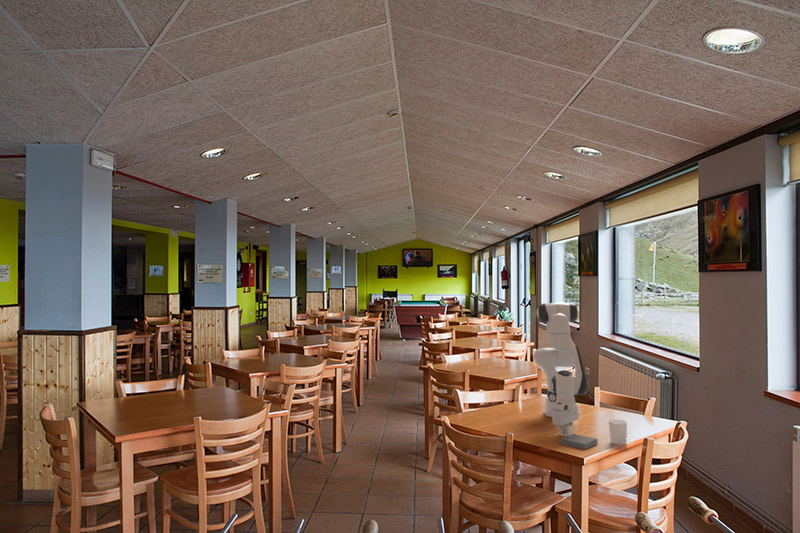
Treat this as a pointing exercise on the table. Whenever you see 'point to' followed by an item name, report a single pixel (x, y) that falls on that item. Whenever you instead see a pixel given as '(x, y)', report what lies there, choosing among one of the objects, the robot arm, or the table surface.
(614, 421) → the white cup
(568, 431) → the cube
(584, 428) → the table surface
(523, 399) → the table surface
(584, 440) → the base
